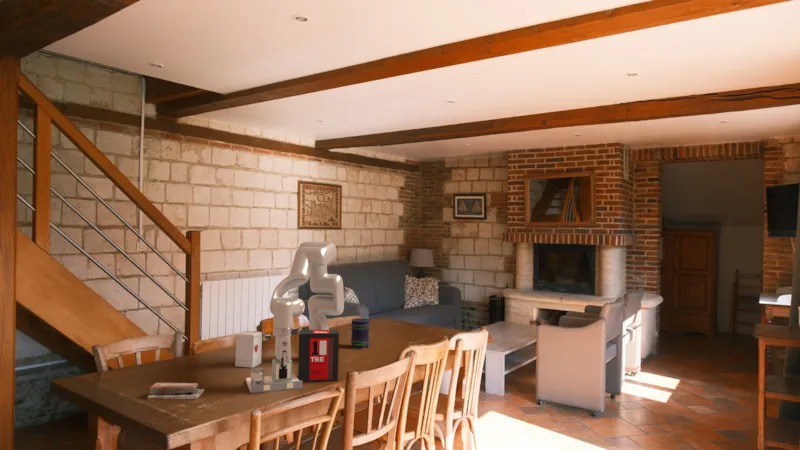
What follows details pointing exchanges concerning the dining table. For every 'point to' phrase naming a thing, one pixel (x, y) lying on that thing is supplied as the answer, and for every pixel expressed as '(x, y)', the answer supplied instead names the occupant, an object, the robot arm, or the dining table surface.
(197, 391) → the notched trowel
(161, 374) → the dining table surface
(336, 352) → the cleaning product box
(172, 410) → the dining table surface
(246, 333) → the supplement box
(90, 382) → the dining table surface
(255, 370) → the clear glass cup
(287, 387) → the board
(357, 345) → the storage jar
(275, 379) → the tea box
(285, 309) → the robot arm
